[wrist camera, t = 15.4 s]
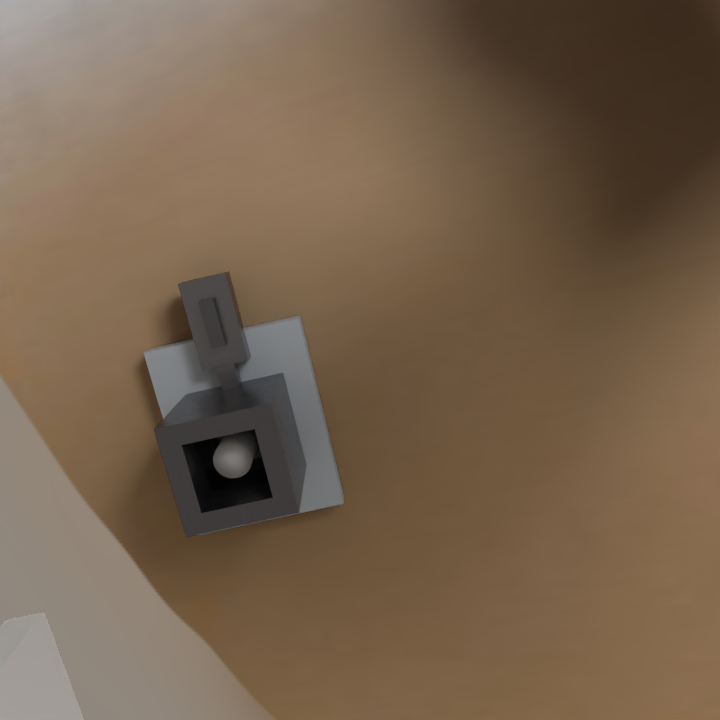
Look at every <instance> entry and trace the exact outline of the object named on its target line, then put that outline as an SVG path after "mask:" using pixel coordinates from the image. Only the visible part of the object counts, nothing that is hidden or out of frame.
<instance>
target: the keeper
mask: <svg viewBox="0 0 720 720" xmlns="http://www.w3.org/2000/svg"><path fill="white" fill-rule="evenodd" d="M244 331H245V335H246V339H247V343H248V347H249V350H250V354H251V357H250V359H249V360H248V361H245V362H240V363H237V366H238V370H239V373H240V377H241V381H242V382H243V381H247V380H252V379H256V378H261V377H265V376H270V375H274V374H279V373H284V377H285V381H286V385H287V389H288V393H289V397H290V401H291V405H292V409H293V413H294V417H295V421H296V425H297V429H298V433H299V437H300V441H301V445H302V449H303V453H304V457H305V461H306V465H307V466H306V472H305V479H304V485H303V491H302V498H301V504H300V511H299V513H303V512H308V511H313V510H317V509H322V508H326V507H331V506H336V505H340V504H344V494H343V490H342V486H341V482H340V477H339V473H338V469H337V465H336V461H335V457H334V453H333V449H332V445H331V440H330V436H329V432H328V428H327V424H326V420H325V416H324V412H323V407H322V403H321V399H320V395H319V391H318V387H317V383H316V379H315V375H314V370H313V366H312V362H311V358H310V354H309V350H308V346H307V342H306V337H305V333H304V329H303V325H302V321H301V317H300V315H298V316H294V317H289V318H285V319H280V320H276V321H271V322H267V323H262V324H258V325H254V326H249V327H245V328H244ZM144 356H145V360H146V363H147V367H148V370H149V373H150V377H151V380H152V383H153V387H154V390H155V394H156V397H157V400H158V404H159V407H160V410H161V414H162V417H163V419H164V418H165V417H166V415H167V414H168V413H169V412H170V411H171V410H172V409H173V408H174V407H175V406H176V404H177V403H178V402H179V401H180V400H181V399H182V398H183V397H184V396H185V395H186V394H189V393H193V392H198V391H202V390H207V389H211V388H216V387H220V386H221V382H220V379H219V375H218V371H217V368H213V369H209V370H204V371H202V369H201V365H200V362H199V358H198V355H197V351H196V347H195V344H194V340H193V339H191V340H187V341H182V342H178V343H173V344H169V345H164V346H160V347H155V348H151V349H149V350H147V351H146V352H144ZM217 438H218V442H219V445H218V447H217V449H216V451H215V453H214V456H213V463H214V467H215V469H216V470H217V471H218V472H219V473H220V474H221V475H223V476H224V477H227V478H239V477H241V476H243V475H245V474H246V473H247V472H248V471H249V469H250V467H251V465H252V462H253V459H256V458H260V457H262V455H261V451H260V448H259V444H258V440H257V436H256V432H255V429H253V430H248V431H244V432H239V433H235V434H230V435H225V436H221V437H217ZM299 513H296V514H299ZM292 515H294V514H292ZM287 516H290V515H287ZM282 517H285V516H282ZM278 518H280V517H278ZM273 519H276V518H273ZM269 520H271V519H269ZM264 521H267V520H264ZM259 522H262V521H259ZM255 523H257V522H255ZM250 524H253V523H250ZM245 525H248V524H245ZM241 526H244V525H241ZM236 527H239V526H236ZM232 528H234V527H232ZM227 529H230V528H227ZM222 530H225V529H222ZM218 531H220V530H218ZM213 532H216V531H213ZM208 533H211V532H208ZM204 534H207V533H204ZM199 535H202V534H199Z"/></svg>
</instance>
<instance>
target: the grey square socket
mask: <svg viewBox="0 0 720 720" xmlns="http://www.w3.org/2000/svg"><path fill="white" fill-rule="evenodd" d="M178 286H179V290H180V294H181V297H182V301H183V304H184V308H185V311H186V315H187V319H188V322H189V326H190V329H191V333H192V337H193V340H194V344H195V347H196V351H197V355H198V358H199V362H200V365H201V369H202V371H204V370H209V369H213V368H217V371H218V375H219V379H220V382H221V386H220V387H216V388H211V389H207V390H202V391H198V392H193V393H189V394H186V395H185V396H184V397H183V398H182V399H181V400H180V401H179V402H178V403H177V404H176V406H175V407H174V408H173V409H172V410H171V411H170V412H169V413H168V414H167V415H166V417H165V418H164V419H163V420H162V421H161V422H160V423H159V424H158V425H157V426H156V427H155V429H154V431H155V434H156V438H157V441H158V444H159V448H160V451H161V454H162V458H163V461H164V464H165V468H166V471H167V474H168V478H169V481H170V484H171V488H172V491H173V495H174V498H175V501H176V505H177V508H178V511H179V515H180V518H181V521H182V525H183V528H184V531H185V535H186V537H190V536H195V535H199V534H204V533H208V532H213V531H218V530H222V529H227V528H232V527H236V526H241V525H245V524H250V523H255V522H259V521H264V520H269V519H273V518H278V517H282V516H287V515H292V514H296V513H299V511H300V504H301V498H302V491H303V485H304V479H305V472H306V466H307V465H306V461H305V457H304V453H303V449H302V445H301V441H300V437H299V433H298V429H297V425H296V421H295V417H294V413H293V409H292V405H291V401H290V397H289V393H288V389H287V385H286V381H285V377H284V373H279V374H274V375H270V376H265V377H261V378H256V379H252V380H247V381H243V382H242V381H241V377H240V373H239V370H238V366H237V363H240V362H245V361H248V360H249V359H250V357H251V354H250V350H249V347H248V343H247V339H246V335H245V331H244V328H243V324H242V320H241V316H240V312H239V308H238V305H237V301H236V297H235V293H234V289H233V285H232V282H231V278H230V274H229V272H225V273H220V274H216V275H212V276H207V277H203V278H198V279H194V280H189V281H185V282H182V283H179V284H178ZM253 429H255V432H256V436H257V440H258V444H259V448H260V451H261V455H262V457H260V458H256V459H253V462H252V465H251V467H250V469H249V471H248V472H247V473H246V474H245V475H243V476H241V477H239V478H227V477H224V476H223V475H221V474H220V473H219V472H218V471H217V470H216V469H215V467H214V463H213V456H214V453H215V451H216V449H217V447H218V445H219V442H218V438H217V437H221V436H225V435H230V434H235V433H239V432H244V431H248V430H253Z"/></svg>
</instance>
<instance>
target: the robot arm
mask: <svg viewBox="0 0 720 720" xmlns="http://www.w3.org/2000/svg"><path fill="white" fill-rule="evenodd" d="M0 720H84V719H83V716H82V713H81V710H80V707H79V705H78V702H77V699H76V697H75V694H74V691H73V689H72V686H71V683H70V680H69V677H68V675H67V672H66V669H65V667H64V664H63V661H62V659H61V656H60V653H59V650H58V647H57V645H56V642H55V640H54V636H53V634H52V631H51V628H50V626H49V623H48V620H47V617H46V615H45V612H40V613H35V614H30V615H26V616H21V617H16V618H11V619H6V620H5V622H4V623H3V624H2V625H1V626H0Z"/></svg>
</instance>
